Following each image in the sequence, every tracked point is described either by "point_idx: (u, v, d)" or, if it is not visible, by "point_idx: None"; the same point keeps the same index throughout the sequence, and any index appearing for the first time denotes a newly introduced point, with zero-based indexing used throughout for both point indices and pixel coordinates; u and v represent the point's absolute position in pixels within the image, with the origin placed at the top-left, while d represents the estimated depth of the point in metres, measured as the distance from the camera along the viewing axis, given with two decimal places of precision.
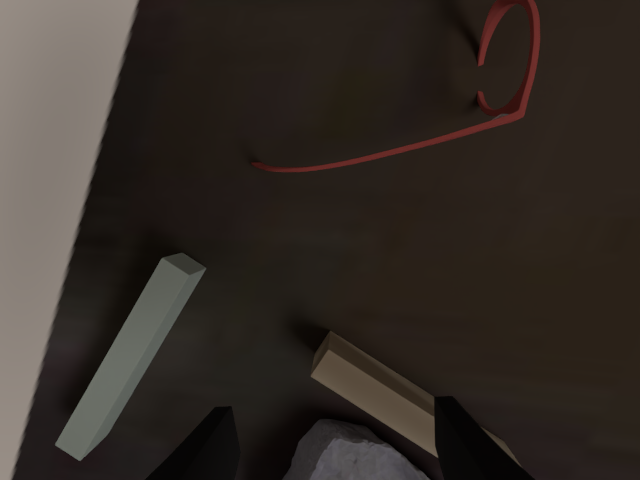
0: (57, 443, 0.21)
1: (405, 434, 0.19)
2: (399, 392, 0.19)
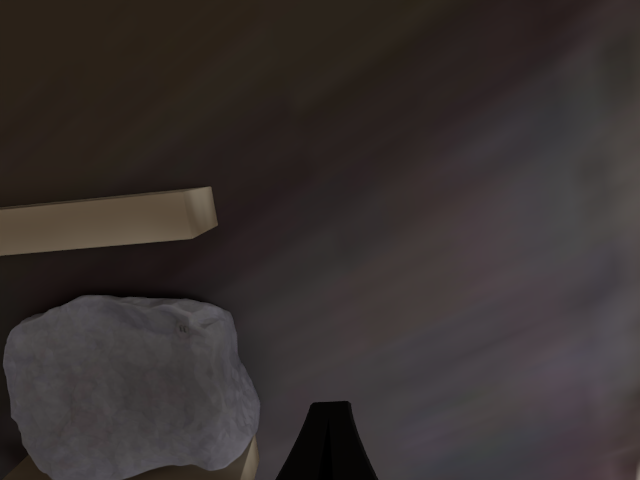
0: None
1: (30, 249, 0.14)
2: None
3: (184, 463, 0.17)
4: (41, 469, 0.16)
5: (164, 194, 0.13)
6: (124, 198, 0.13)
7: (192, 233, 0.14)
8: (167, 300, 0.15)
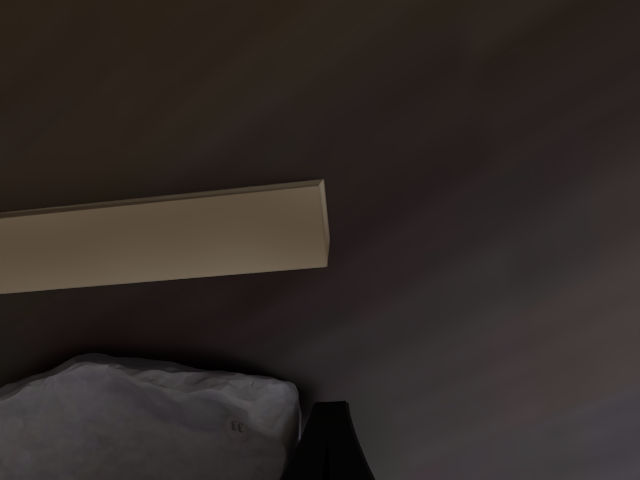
0: None
1: (49, 284, 0.08)
2: None
3: None
4: None
5: (284, 190, 0.08)
6: (212, 198, 0.08)
7: (326, 257, 0.08)
8: (212, 379, 0.10)
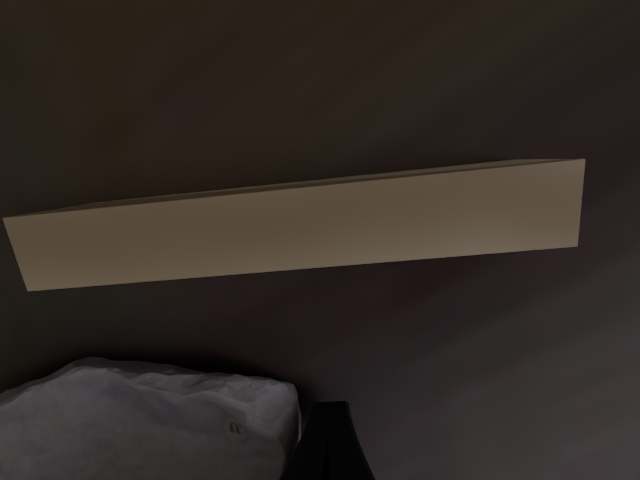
0: None
1: (268, 266, 0.08)
2: (198, 197, 0.08)
3: None
4: None
5: (545, 164, 0.07)
6: (464, 172, 0.07)
7: (575, 236, 0.07)
8: (210, 381, 0.10)
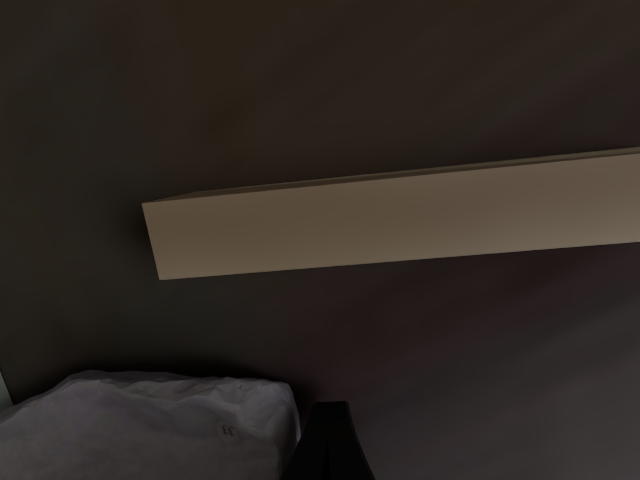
0: None
1: (419, 253, 0.08)
2: (347, 181, 0.08)
3: None
4: None
5: None
6: None
7: None
8: (200, 385, 0.10)
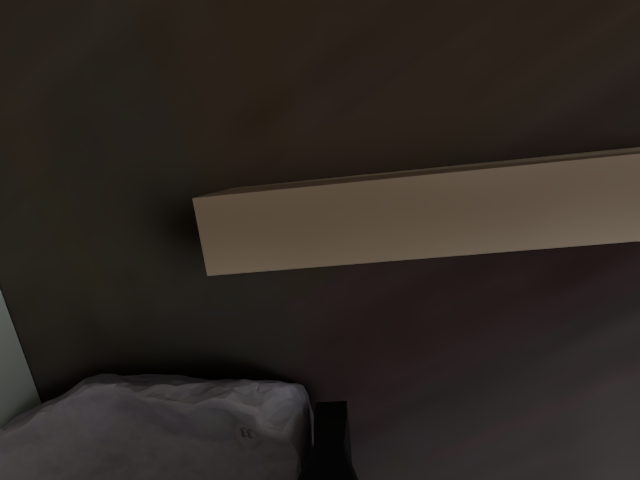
0: None
1: (472, 249, 0.08)
2: (400, 176, 0.08)
3: None
4: None
5: None
6: None
7: None
8: (217, 388, 0.10)
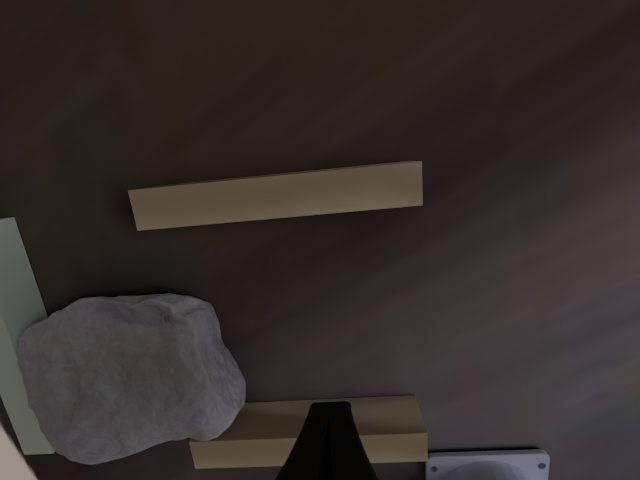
0: (24, 452, 0.20)
1: (267, 216, 0.15)
2: (231, 179, 0.15)
3: (181, 437, 0.19)
4: (58, 452, 0.19)
5: (403, 163, 0.14)
6: (364, 167, 0.15)
7: (422, 200, 0.15)
8: (152, 295, 0.18)
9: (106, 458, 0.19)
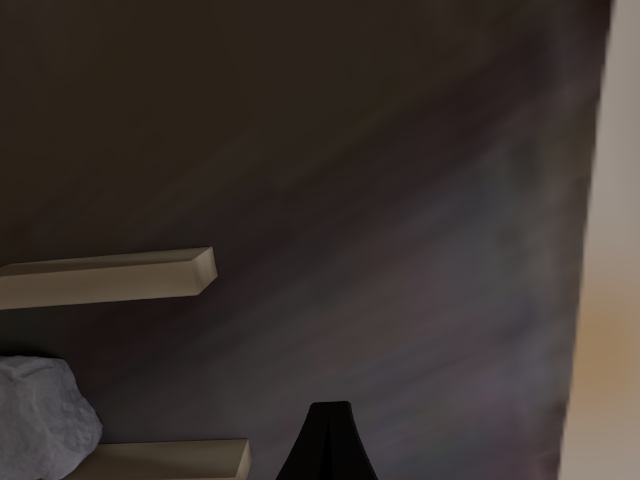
0: None
1: (74, 301, 0.18)
2: (44, 271, 0.18)
3: (35, 478, 0.22)
4: None
5: (177, 262, 0.17)
6: (146, 265, 0.18)
7: (198, 290, 0.18)
8: None
9: None
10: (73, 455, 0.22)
